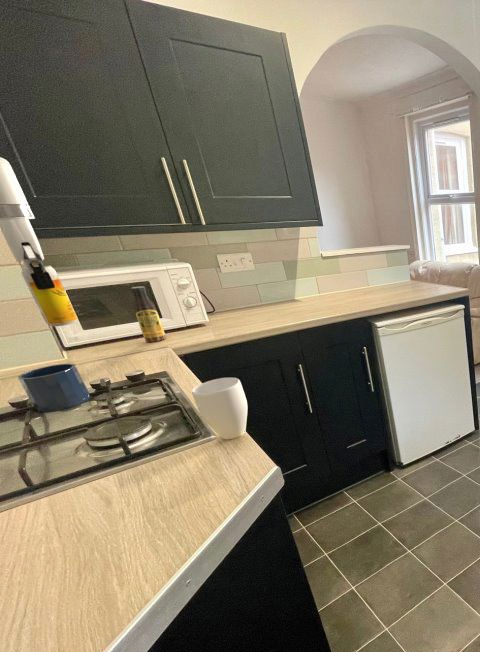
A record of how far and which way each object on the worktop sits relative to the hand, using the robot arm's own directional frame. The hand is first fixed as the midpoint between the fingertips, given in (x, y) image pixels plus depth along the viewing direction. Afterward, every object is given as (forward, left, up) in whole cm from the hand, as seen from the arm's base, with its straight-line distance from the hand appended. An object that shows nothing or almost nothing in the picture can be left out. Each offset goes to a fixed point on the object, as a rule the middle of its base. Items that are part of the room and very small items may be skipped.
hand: (45, 286), depth 109 cm
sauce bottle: (+22, +37, -27) cm, 51 cm away
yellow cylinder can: (0, 0, -10) cm, 10 cm away
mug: (+17, -67, -27) cm, 74 cm away
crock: (-6, -14, -27) cm, 31 cm away
